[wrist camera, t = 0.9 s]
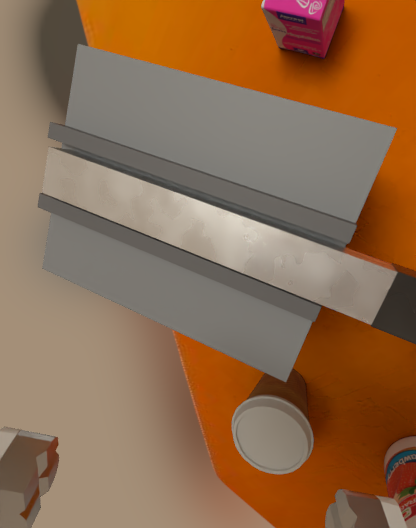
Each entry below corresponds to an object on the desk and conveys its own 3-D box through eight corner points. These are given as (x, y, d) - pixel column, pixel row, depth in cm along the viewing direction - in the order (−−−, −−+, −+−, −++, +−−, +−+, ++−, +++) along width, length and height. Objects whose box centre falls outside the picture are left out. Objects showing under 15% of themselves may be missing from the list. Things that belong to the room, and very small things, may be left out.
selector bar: (71, 148, 24) (48, 145, 22) (526, 310, 18) (549, 326, 16) (63, 192, 25) (41, 193, 23) (493, 362, 19) (511, 382, 17)
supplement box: (277, 50, 43) (258, 6, 32) (295, -6, 41) (281, -72, 30) (324, 62, 41) (320, 20, 31) (345, 4, 39) (349, -62, 29)
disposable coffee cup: (332, 397, 49) (331, 459, 38) (277, 425, 53) (262, 489, 42) (289, 343, 50) (276, 388, 39) (238, 374, 53) (212, 423, 42)
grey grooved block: (209, 115, 47) (62, 35, 22) (362, 160, 42) (401, 124, 17) (176, 236, 52) (26, 284, 27) (308, 288, 47) (277, 407, 22)
